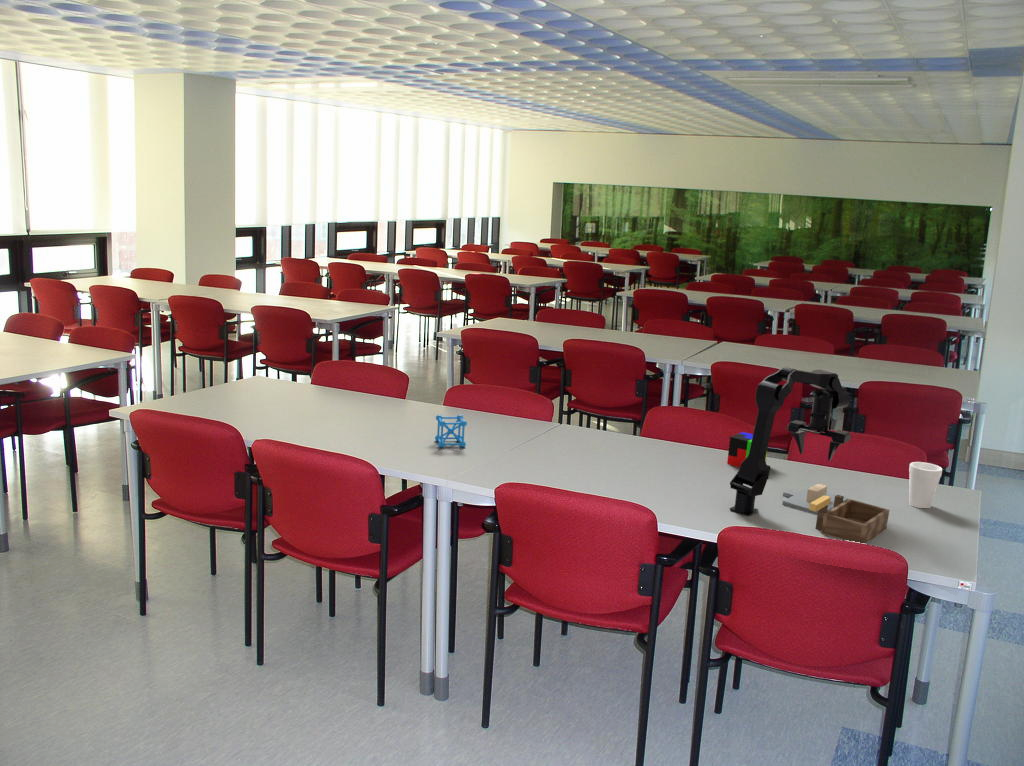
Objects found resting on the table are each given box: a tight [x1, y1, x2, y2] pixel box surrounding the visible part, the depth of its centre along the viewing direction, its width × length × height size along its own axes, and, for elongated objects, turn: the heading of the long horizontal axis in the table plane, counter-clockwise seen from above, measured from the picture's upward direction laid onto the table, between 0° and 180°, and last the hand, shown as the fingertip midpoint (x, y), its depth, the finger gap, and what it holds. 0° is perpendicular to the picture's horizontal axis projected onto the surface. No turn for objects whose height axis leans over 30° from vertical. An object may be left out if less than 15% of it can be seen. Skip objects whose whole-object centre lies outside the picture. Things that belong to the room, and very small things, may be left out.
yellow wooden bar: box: [809, 495, 831, 512], centre depth 259 cm, size 10×2×2 cm, turn 139°
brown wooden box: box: [815, 494, 890, 544], centre depth 263 cm, size 19×15×7 cm
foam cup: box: [908, 461, 943, 509], centre depth 287 cm, size 10×9×13 cm
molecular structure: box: [434, 414, 468, 449], centre depth 324 cm, size 10×10×10 cm
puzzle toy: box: [726, 431, 768, 468], centre depth 320 cm, size 10×10×10 cm
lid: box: [781, 483, 849, 515], centre depth 286 cm, size 20×16×5 cm
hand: (815, 457), depth 288 cm, fingers open, 9 cm apart
